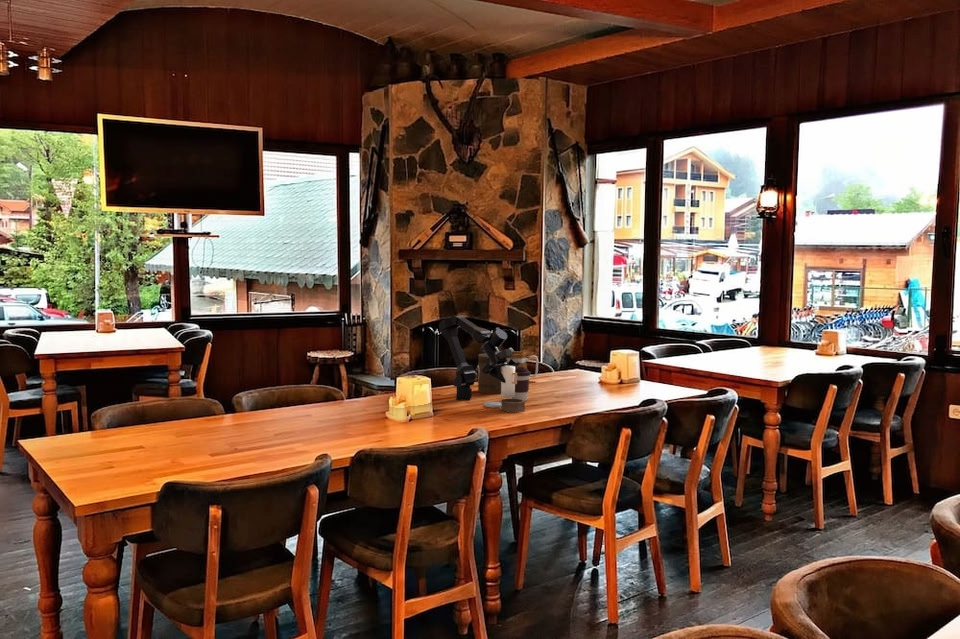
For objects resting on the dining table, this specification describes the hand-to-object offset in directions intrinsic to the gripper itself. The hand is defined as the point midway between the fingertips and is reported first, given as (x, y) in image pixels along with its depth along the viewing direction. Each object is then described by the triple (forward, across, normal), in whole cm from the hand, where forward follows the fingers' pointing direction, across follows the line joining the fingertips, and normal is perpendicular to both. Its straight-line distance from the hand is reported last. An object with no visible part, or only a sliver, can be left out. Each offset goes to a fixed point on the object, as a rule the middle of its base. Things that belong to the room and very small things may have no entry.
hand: (510, 381), depth 331 cm
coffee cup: (0, +18, +17) cm, 25 cm away
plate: (+2, 0, +15) cm, 15 cm away
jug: (+4, 0, +5) cm, 7 cm away
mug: (-26, +56, +45) cm, 76 cm away
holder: (+10, 0, +7) cm, 12 cm away
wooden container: (-17, +24, +35) cm, 46 cm away
